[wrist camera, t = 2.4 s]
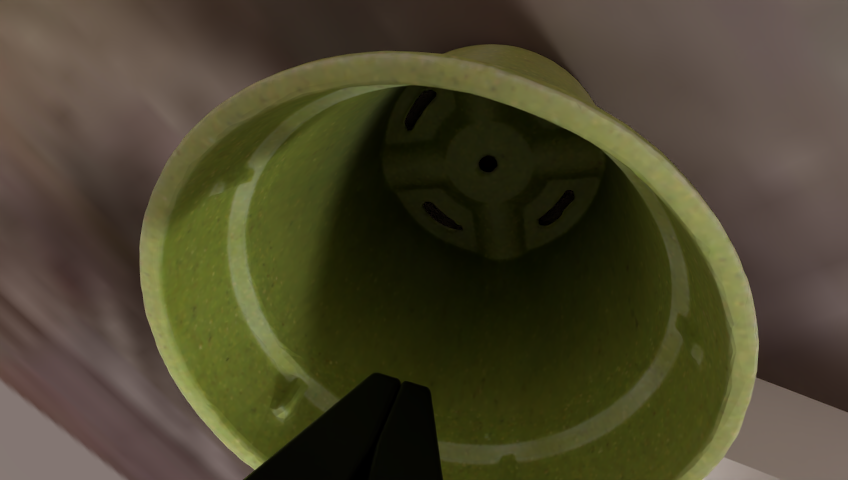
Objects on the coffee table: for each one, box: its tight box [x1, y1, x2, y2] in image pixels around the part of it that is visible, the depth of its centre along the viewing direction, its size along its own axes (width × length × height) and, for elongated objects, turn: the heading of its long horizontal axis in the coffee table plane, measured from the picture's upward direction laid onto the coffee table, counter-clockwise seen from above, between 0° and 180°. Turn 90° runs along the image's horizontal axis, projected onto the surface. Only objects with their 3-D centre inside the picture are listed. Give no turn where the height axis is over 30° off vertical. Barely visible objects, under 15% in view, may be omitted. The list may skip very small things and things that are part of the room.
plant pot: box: [139, 44, 759, 480], centre depth 13 cm, size 9×9×9 cm
